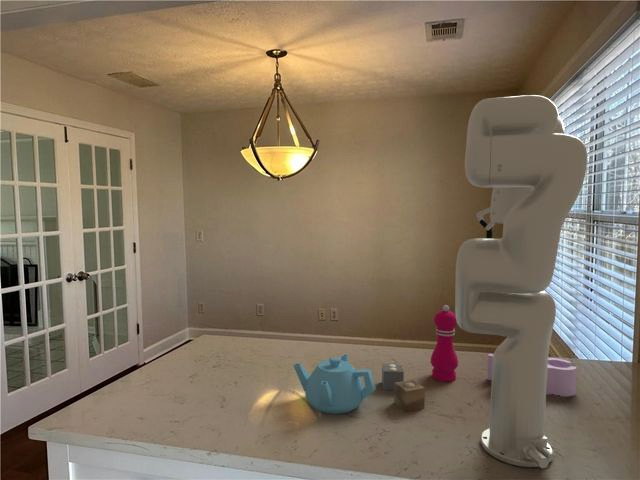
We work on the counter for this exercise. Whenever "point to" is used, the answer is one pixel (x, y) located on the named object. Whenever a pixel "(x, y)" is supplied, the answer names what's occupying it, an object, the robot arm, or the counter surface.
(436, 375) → the pepper mill
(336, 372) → the teapot
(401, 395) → the walnut block
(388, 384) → the charcoal block
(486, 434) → the robot arm
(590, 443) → the counter surface
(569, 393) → the clip
